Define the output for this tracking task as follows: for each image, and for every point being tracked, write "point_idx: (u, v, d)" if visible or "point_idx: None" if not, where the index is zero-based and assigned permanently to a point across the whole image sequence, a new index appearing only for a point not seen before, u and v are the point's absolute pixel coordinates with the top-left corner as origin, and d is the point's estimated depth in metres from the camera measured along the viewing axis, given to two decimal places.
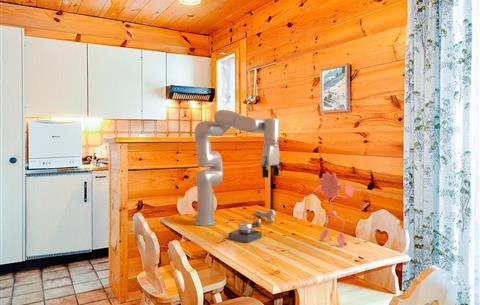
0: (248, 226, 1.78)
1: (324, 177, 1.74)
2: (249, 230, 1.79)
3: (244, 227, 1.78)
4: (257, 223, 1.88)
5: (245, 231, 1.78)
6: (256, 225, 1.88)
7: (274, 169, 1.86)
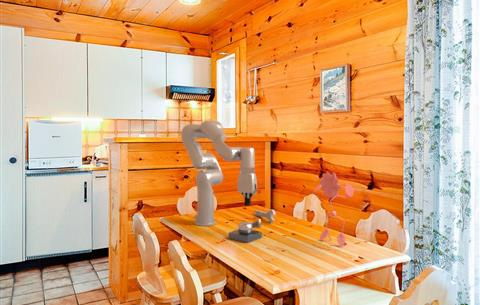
0: (248, 226, 1.78)
1: (324, 177, 1.74)
2: (249, 230, 1.79)
3: (244, 227, 1.78)
4: (257, 223, 1.88)
5: (245, 231, 1.78)
6: (256, 225, 1.88)
7: None
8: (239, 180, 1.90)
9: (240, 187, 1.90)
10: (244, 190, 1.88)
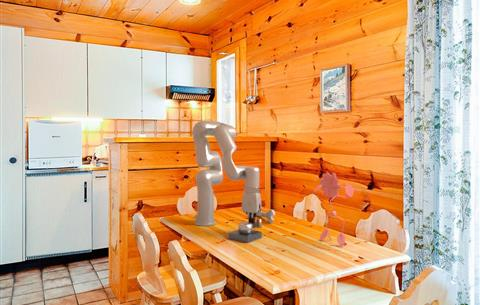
0: (248, 226, 1.78)
1: (324, 177, 1.74)
2: (249, 230, 1.79)
3: (244, 227, 1.78)
4: (258, 223, 1.88)
5: (245, 231, 1.78)
6: (256, 225, 1.87)
7: None
8: (243, 199, 1.89)
9: (244, 207, 1.88)
10: (248, 210, 1.87)
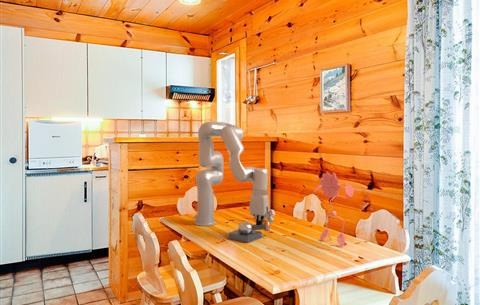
0: (243, 226, 1.78)
1: (324, 177, 1.74)
2: (245, 230, 1.78)
3: (240, 226, 1.79)
4: (263, 226, 1.83)
5: (241, 231, 1.79)
6: (262, 228, 1.83)
7: None
8: (251, 201, 1.86)
9: (252, 209, 1.85)
10: (256, 212, 1.84)
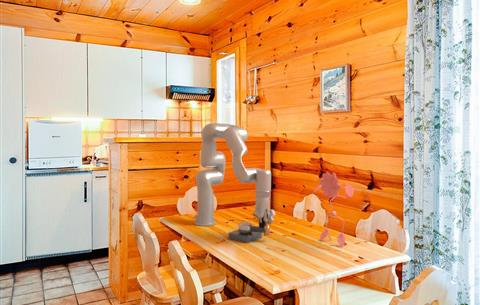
0: (240, 225, 1.79)
1: (324, 177, 1.74)
2: (240, 230, 1.79)
3: (238, 225, 1.81)
4: (262, 229, 1.77)
5: (238, 230, 1.81)
6: (260, 230, 1.77)
7: None
8: (255, 203, 1.83)
9: (255, 210, 1.82)
10: (257, 214, 1.80)
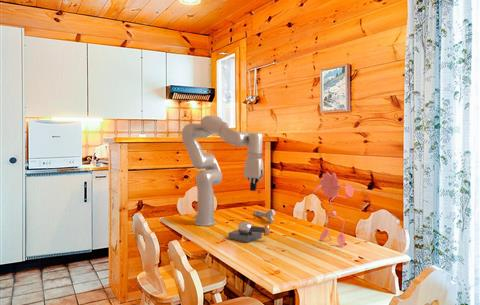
0: (240, 225, 1.79)
1: (324, 177, 1.74)
2: (240, 230, 1.79)
3: (238, 225, 1.81)
4: (262, 229, 1.77)
5: (238, 230, 1.81)
6: (260, 230, 1.77)
7: None
8: (246, 165, 1.91)
9: (246, 172, 1.90)
10: (250, 175, 1.89)
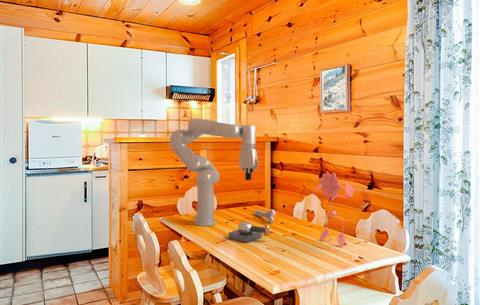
0: (240, 225, 1.79)
1: (324, 177, 1.74)
2: (240, 230, 1.79)
3: (238, 225, 1.81)
4: (262, 229, 1.77)
5: (238, 230, 1.81)
6: (260, 230, 1.77)
7: None
8: (240, 156, 2.00)
9: (241, 162, 2.00)
10: (245, 165, 1.98)
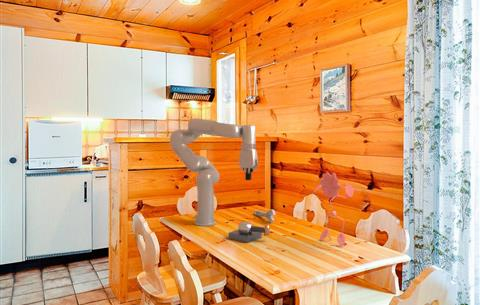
0: (240, 225, 1.79)
1: (324, 177, 1.74)
2: (240, 230, 1.79)
3: (238, 225, 1.81)
4: (262, 229, 1.77)
5: (238, 230, 1.81)
6: (260, 230, 1.77)
7: None
8: (240, 156, 2.00)
9: (241, 162, 2.00)
10: (245, 165, 1.98)
